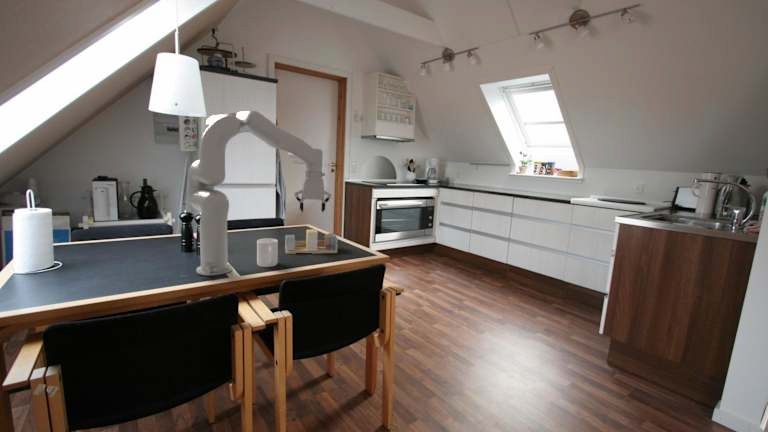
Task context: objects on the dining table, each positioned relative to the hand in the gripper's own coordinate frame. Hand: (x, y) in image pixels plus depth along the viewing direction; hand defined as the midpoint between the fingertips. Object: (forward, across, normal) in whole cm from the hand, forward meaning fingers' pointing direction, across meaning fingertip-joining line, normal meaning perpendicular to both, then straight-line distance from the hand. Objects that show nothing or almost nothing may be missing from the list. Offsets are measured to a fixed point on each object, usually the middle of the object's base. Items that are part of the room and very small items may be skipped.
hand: (312, 211), depth 174 cm
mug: (+20, +20, +20) cm, 35 cm away
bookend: (+18, +10, -1) cm, 21 cm away
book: (+18, 0, 0) cm, 19 cm away
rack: (+20, 0, -1) cm, 20 cm away
